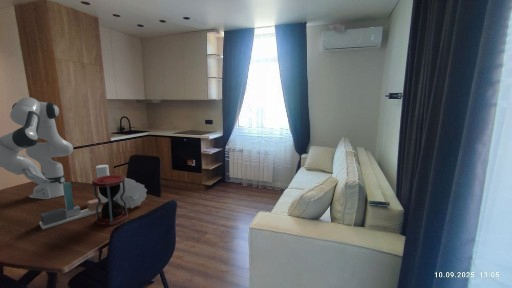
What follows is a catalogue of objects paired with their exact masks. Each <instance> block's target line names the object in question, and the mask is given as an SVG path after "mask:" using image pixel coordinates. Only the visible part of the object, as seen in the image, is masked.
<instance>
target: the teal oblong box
mask: <svg viewBox="0 0 512 288" xmlns="http://www.w3.org/2000/svg"><path fill="white" fill-rule="evenodd" d="M63 190H64V195H63V197H64V204H65V208H64V209H65V210H66V216H67V217H69V216H72V215H76V214H79V213H81V207H80V206H79V205H76V206H74V198H73V189H72V183H71V181H65V183H63Z"/></svg>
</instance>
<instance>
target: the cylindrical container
mask: <svg viewBox="0 0 512 288" xmlns="http://www.w3.org/2000/svg"><path fill="white" fill-rule="evenodd" d="M95 171H96V178H99V177H102V176H108V175H110V170H109V165H108V164H99V165H96V167H95ZM97 191H98V192H97V193H98V197H99V198H100V199H101V203H102V204H103V203H104V204H105V202H107V201H108V199H107V198H105V197H103V196H102V195H101V194H100V193H99V187H98V186H97Z"/></svg>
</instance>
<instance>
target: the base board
mask: <svg viewBox="0 0 512 288" xmlns="http://www.w3.org/2000/svg"><path fill="white" fill-rule="evenodd" d="M80 211H81V213H79V214H76V215H72V216H69V217H67V219H66V220H62V221H59V222H55V223H52V224H49V225H45V226H44V225H43V223H42V221H40V222H39V226H40V228H41V229H42V230H45V229H49V228H51V227H52V228H53V227H54V226H55V227H56V226H59V225H61V224H65V223H68V222H71V221H76V220H78V219H81V218H85V217H89V216H92V215H95V214H96V211H93V212H91V211H89V210H88V208H86V209H83V210H81V209H80ZM98 213H101V209H100V210H98Z"/></svg>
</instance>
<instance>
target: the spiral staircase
mask: <svg viewBox="0 0 512 288" xmlns="http://www.w3.org/2000/svg"><path fill="white" fill-rule="evenodd" d="M124 177H125V176H124ZM147 192H148V189H147V188H146V187H145V184H142V183H139V182H136V180H134V179H132V178H127V177H125V194H124V195H123V200H124V201H126V205H127V209H128V208H129V209H130V208H131V209H134V208H135V207H136V206H141V203H142V202H144V201H146V198H147ZM122 193H123V183H120V191H119V193H118V194H117V195H116V196H115V197H114V198H113V200H115V201H117V202H118V203H120V204H121V206H122V207H123V208H124V209H125V207H124V203H123V201H121V199H120V196H121V194H122Z"/></svg>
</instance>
